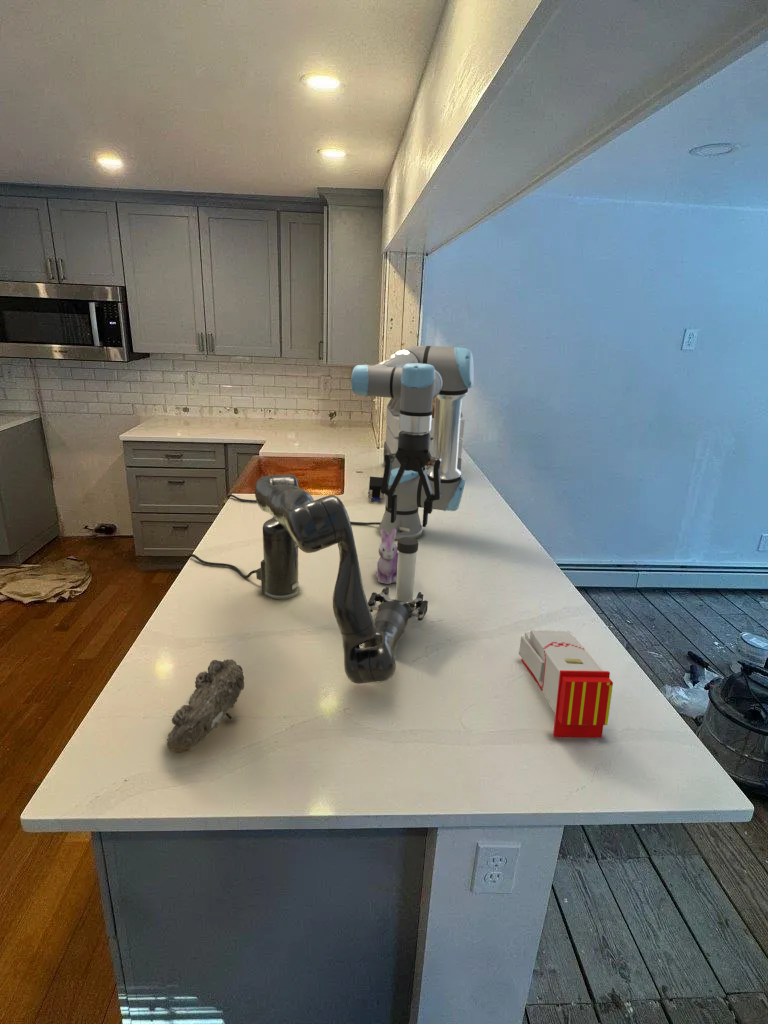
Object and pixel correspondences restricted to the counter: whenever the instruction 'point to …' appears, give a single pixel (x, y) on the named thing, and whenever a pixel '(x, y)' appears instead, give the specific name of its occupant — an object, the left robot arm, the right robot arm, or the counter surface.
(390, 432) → the tiered storage shelf
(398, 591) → the jar
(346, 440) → the counter surface
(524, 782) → the counter surface
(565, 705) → the toy
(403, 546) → the lid
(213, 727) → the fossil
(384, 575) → the figurine
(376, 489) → the figurine character
